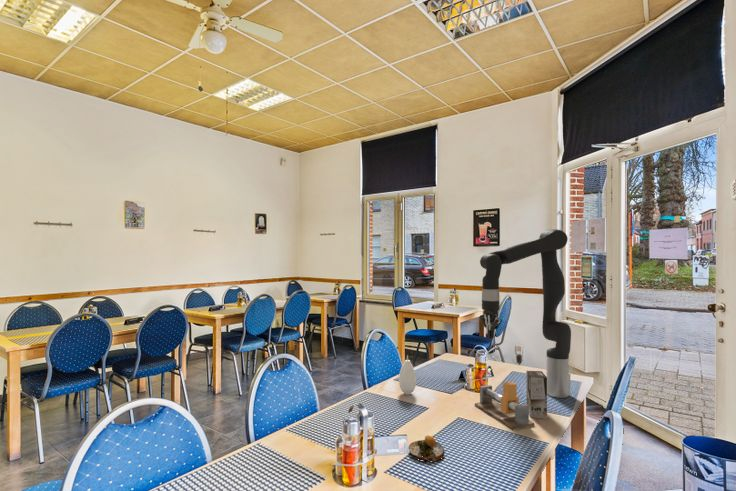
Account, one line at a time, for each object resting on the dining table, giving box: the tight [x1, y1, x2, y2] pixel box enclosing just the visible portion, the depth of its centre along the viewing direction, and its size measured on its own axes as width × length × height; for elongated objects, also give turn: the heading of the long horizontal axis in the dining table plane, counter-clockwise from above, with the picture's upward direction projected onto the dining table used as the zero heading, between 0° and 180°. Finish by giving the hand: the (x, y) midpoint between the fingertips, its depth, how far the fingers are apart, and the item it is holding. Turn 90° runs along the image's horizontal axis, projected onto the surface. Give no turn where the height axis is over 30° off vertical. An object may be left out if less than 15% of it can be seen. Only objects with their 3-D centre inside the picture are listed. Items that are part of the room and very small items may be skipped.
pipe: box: [479, 384, 530, 426], centre depth 164 cm, size 24×5×7 cm, turn 20°
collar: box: [500, 381, 520, 414], centre depth 160 cm, size 3×6×11 cm, turn 110°
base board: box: [474, 399, 535, 431], centre depth 164 cm, size 24×10×1 cm, turn 20°
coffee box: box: [525, 370, 548, 419], centre depth 166 cm, size 9×6×16 cm
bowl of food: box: [408, 434, 445, 462], centre depth 134 cm, size 12×12×8 cm
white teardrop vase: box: [398, 354, 417, 396], centre depth 187 cm, size 8×8×18 cm
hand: (490, 338), depth 181 cm, fingers closed
